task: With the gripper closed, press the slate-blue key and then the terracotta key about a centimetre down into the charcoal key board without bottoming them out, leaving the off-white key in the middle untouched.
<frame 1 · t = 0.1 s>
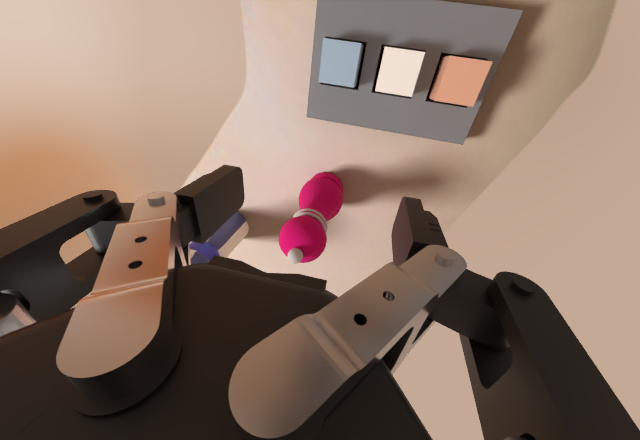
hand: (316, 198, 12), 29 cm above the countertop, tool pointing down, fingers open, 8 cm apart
key board: (395, 72, 32), on the countertop
terracotta key: (457, 81, 28), point 4 cm above the countertop, slide at 0.0 cm
pepper mill: (326, 188, 44), on the countertop
white key: (397, 72, 29), point 4 cm above the countertop, slide at 0.0 cm
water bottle: (233, 223, 53), on the countertop
blue key: (341, 64, 30), point 4 cm above the countertop, slide at 0.0 cm
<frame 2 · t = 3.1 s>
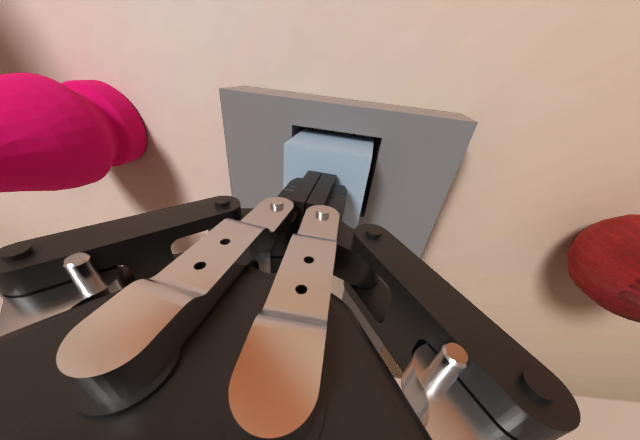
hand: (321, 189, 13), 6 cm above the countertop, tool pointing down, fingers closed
key board: (327, 236, 21), on the countertop
pepper mill: (115, 123, 20), on the countertop
white key: (317, 267, 18), point 4 cm above the countertop, slide at 0.0 cm
blue key: (329, 177, 15), point 4 cm above the countertop, slide at 0.5 cm, touching gripper
onion: (592, 228, 16), on the countertop
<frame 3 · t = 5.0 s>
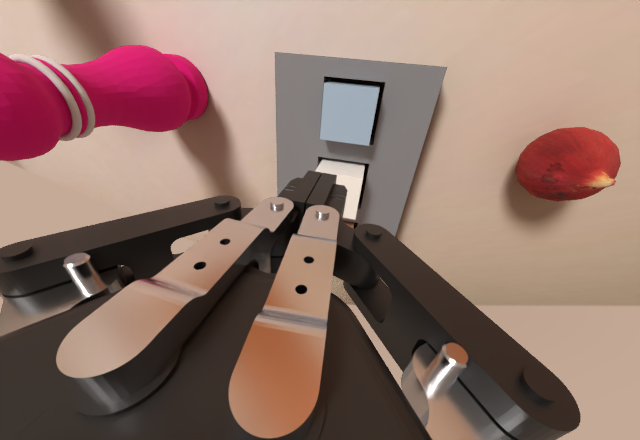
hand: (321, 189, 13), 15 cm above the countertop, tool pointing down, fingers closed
key board: (343, 173, 28), on the countertop
terracotta key: (331, 241, 28), point 4 cm above the countertop, slide at 0.0 cm
pepper mill: (184, 88, 27), on the countertop
white key: (338, 187, 25), point 4 cm above the countertop, slide at 0.0 cm
blue key: (349, 112, 22), point 3 cm above the countertop, slide at 1.1 cm
onion: (536, 152, 23), on the countertop
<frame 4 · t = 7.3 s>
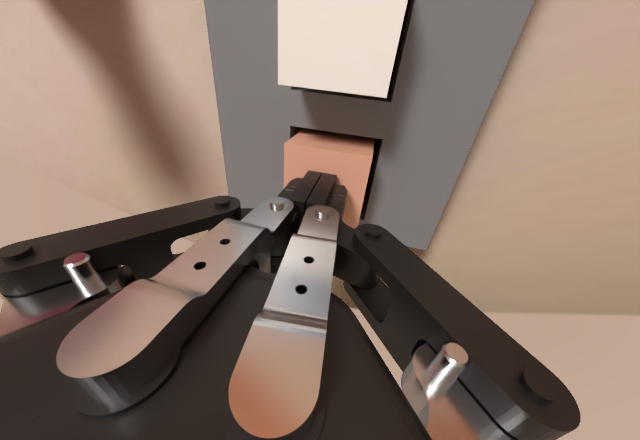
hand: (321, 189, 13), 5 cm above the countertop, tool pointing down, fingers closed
key board: (353, 39, 13), on the countertop
terracotta key: (329, 177, 15), point 3 cm above the countertop, slide at 0.9 cm, touching gripper
white key: (345, 28, 10), point 4 cm above the countertop, slide at 0.0 cm
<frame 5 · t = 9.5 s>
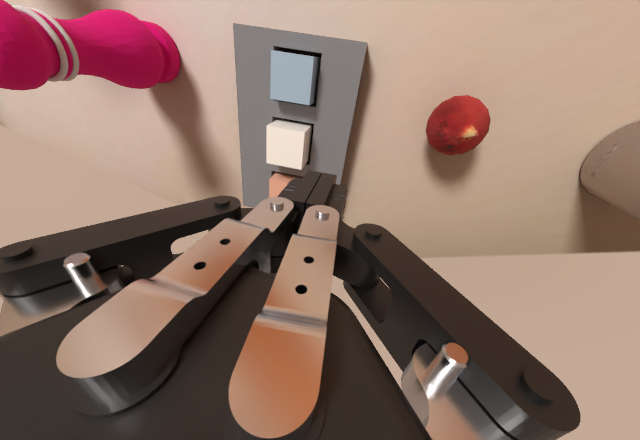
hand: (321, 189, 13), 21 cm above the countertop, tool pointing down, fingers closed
key board: (297, 136, 33), on the countertop
terracotta key: (288, 190, 34), point 3 cm above the countertop, slide at 1.1 cm
pepper mill: (158, 54, 31), on the countertop
white key: (289, 143, 29), point 4 cm above the countertop, slide at 0.0 cm
blue key: (295, 78, 27), point 3 cm above the countertop, slide at 1.1 cm
onion: (446, 119, 29), on the countertop
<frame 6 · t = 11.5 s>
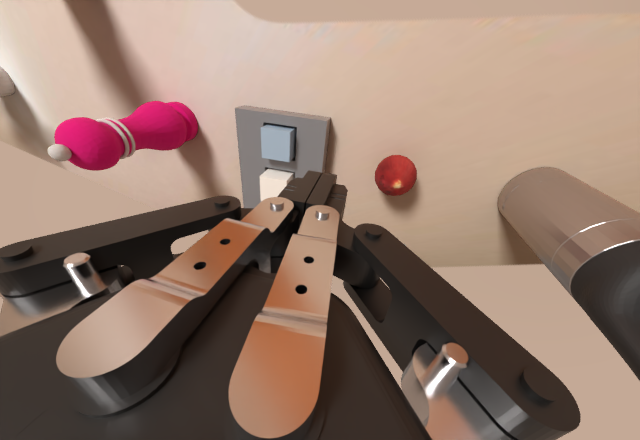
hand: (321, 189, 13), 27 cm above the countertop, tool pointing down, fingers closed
key board: (285, 177, 43), on the countertop
pepper mill: (182, 121, 42), on the countertop
white key: (277, 186, 40), point 4 cm above the countertop, slide at 0.0 cm
blue key: (280, 142, 37), point 3 cm above the countertop, slide at 1.1 cm
onion: (393, 166, 38), on the countertop
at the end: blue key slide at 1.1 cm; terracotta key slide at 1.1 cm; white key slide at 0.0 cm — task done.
